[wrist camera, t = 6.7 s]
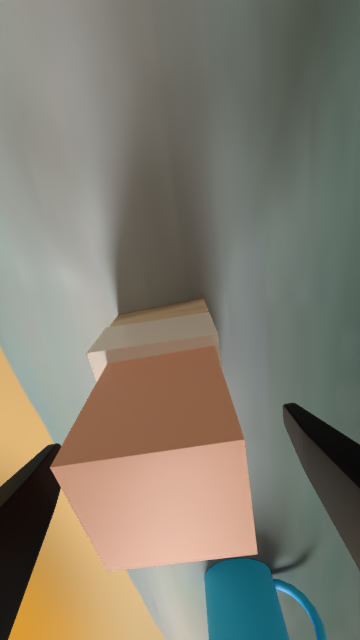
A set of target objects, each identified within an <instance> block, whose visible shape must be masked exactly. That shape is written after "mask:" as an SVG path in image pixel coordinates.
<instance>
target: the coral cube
mask: <svg viewBox="0 0 360 640" xmlns="http://www.w3.org/2000/svg"><path fill="white" fill-rule="evenodd" d="M50 469H51V470H52V472H53V474H54V476H55V478H56V480H57V481H58V483H59V485H60V487H61V489H62V490H63V492H64V494H65V496H66V498H67V499H68V501H69V503H70V505H71V507H72V508H73V510H74V512H75V513H76V515H77V518H78V519H79V521H80V523H81V525H82V527H83V528H84V530H85V532H86V534H87V536H88V537H89V539H90V541H91V543H92V545H93V546H94V548H95V550H96V552H97V554H98V556H99V557H100V559H101V561H102V563H103V565H104V566H105V568H106V570H107V571H116V570H125V569H134V568H143V567H152V566H160V565H169V564H178V563H186V562H195V561H204V560H213V559H221V558H230V557H239V556H247V555H256V554H258V553H257V544H256V535H255V527H254V518H253V509H252V501H251V492H250V483H249V475H248V466H247V457H246V449H245V440H244V437H243V434H242V430H241V427H240V424H239V421H238V418H237V415H236V412H235V409H234V406H233V403H232V400H231V396H230V393H229V390H228V387H227V384H226V381H225V378H224V375H223V372H222V369H221V366H220V362H219V359H218V356H217V353H216V350H215V347H214V346H209V347H203V348H198V349H192V350H186V351H180V352H174V353H168V354H162V355H156V356H150V357H144V358H139V359H133V360H127V361H121V362H115V363H109V364H107V365H106V367H105V368H104V370H103V372H102V374H101V376H100V378H99V379H98V381H97V383H96V385H95V387H94V388H93V390H92V392H91V394H90V396H89V398H88V399H87V401H86V403H85V405H84V407H83V408H82V410H81V412H80V414H79V416H78V417H77V419H76V421H75V423H74V425H73V427H72V428H71V430H70V432H69V434H68V436H67V437H66V439H65V441H64V443H63V445H62V447H61V448H60V450H59V452H58V454H57V456H56V457H55V459H54V461H53V463H52V465H51V467H50Z"/></svg>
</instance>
